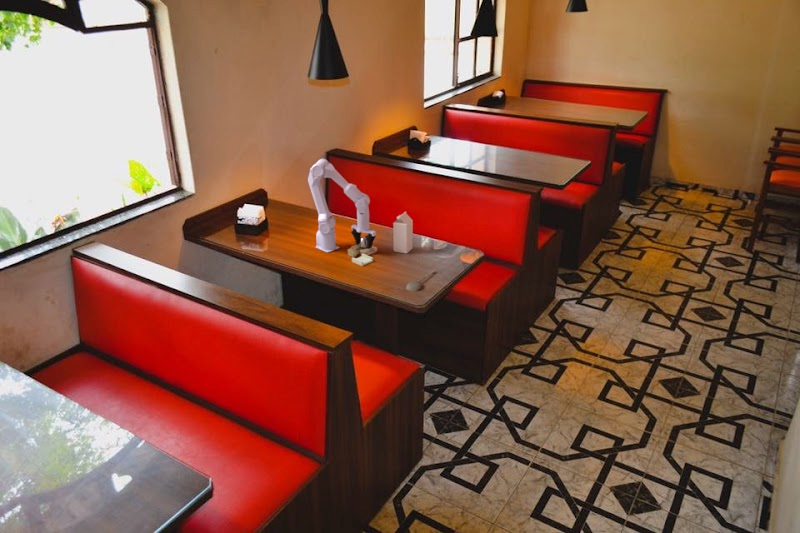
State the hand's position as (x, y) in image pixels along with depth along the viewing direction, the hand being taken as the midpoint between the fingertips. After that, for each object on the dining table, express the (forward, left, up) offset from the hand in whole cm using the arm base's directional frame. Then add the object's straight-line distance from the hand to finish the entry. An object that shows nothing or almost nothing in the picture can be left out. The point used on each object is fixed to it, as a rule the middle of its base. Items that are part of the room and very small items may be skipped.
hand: (363, 246), depth 306 cm
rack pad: (+9, -9, -3) cm, 13 cm away
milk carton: (+13, +14, -3) cm, 19 cm away
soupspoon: (+43, -5, -3) cm, 43 cm away
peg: (0, 0, -3) cm, 3 cm away
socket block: (0, 0, -3) cm, 3 cm away
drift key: (0, -5, -3) cm, 6 cm away
